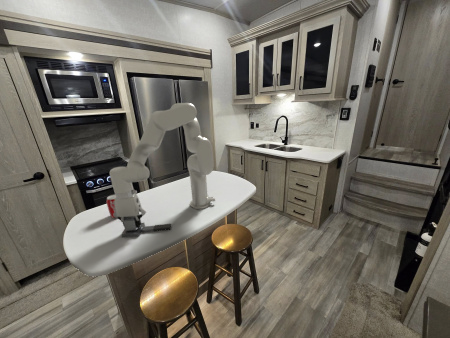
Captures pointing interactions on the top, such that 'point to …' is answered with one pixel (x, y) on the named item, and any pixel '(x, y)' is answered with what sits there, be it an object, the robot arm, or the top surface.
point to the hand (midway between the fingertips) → (132, 226)
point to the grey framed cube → (130, 223)
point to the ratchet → (145, 230)
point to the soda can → (111, 205)
